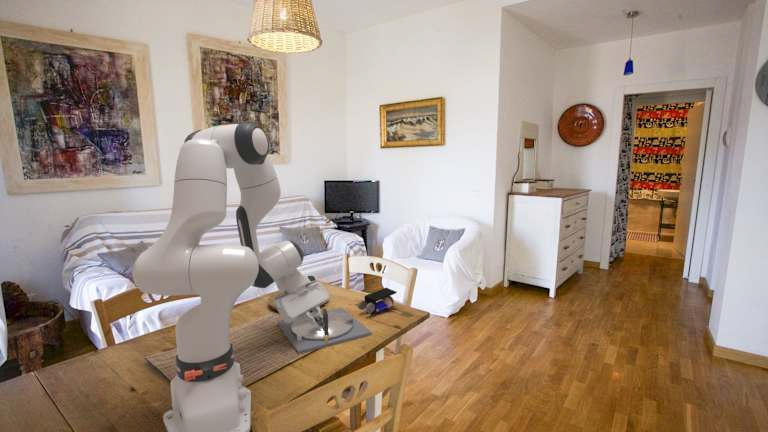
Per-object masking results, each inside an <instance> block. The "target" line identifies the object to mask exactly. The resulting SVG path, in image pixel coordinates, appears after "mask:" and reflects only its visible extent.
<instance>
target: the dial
mask: <svg viewBox="0 0 768 432" xmlns="http://www.w3.org/2000/svg"><path fill="white" fill-rule="evenodd" d="M320 312H321V315H322V317H323V319H322V320H321V321H319V322H317V323H316V324H314V325H312V324H311V323H310V321H307V320H306V319H304V318H303V316H301V317H299V318H298V319H296V320H295V321H294V322H293V323H292V332H293V334H294V335H296V336H297V334H299V333H300V334H301V335H302V338H303V339H308V340H325V335H327V336H328V339H332V338H336V337H339V336H342V335H344V334H346V333H348V332H349V331H350V330H351V329H352V328H353V319H352V318H351V317H350V316H349V315H347V314H344V313H341V312H334V311H328V310H327V308H322V311H320ZM309 313H310V312H309ZM309 315H311V316H312V317H313V318H314V317H316V314H315V312H311V313H310V314H309Z"/></svg>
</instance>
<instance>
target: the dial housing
mask: <svg viewBox="0 0 768 432" xmlns="http://www.w3.org/2000/svg"><path fill="white" fill-rule="evenodd" d="M327 311H334V312H341V313H344V314H347V315H349V316H350V317H351V318H352V319H353V328H352V329H351V330H350V331H349V332H348V333H346V334H344V335H342V336H339V337H336V338H332V339H328V336H327V335H325V340H308V339H303V338H302V335H301V334H300V333H299V334H297V336H296V335H294V334H293V332H292V323H293V322H294V321H295V320H296V319H295V320H294V321H292V322H290V323H286V322H284V321H283V319H282V320H277V321H276V323H277V326H278V327H279V328H280V330H281V331H282V333H283V334H284V336H285V337H286V338H287V340H288V341H289V343H290V344H291V346H292V347H293V348H294V350H295V352H296V351H297V352H296V353H297V355H301V354H304V353H303V352H305V353H308V351H309V352H311V351H315V350H320V349H323V348H328V347H331V346H335V345H338V344H344V343H346V342H350V341H355V340H358V339H362V338H366V337H369V336H372V335H373V334H372V333H373V332H372V330H370V329H369V328H367V327H366V326H365V325H364V324H363V323H361V321H359V320H358V319H356V317H354V316H353V315H351V314H350V313H349V312H348V311H347V310H346V309H344V308H343V307H337V308H334V309H328V310H327ZM297 319H298V318H297ZM300 353H301V354H300Z"/></svg>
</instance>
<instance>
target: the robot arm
mask: <svg viewBox="0 0 768 432" xmlns="http://www.w3.org/2000/svg"><path fill="white" fill-rule="evenodd" d="M269 150H270V143H269V138H268V136H267V133H266V132H265V130H264V129H263V128H262V127H261V126H260V125H259V124H257V123H254V122H244V121H243V122H240V123H231V124H220V125H215V126H210V127H208V128H205V129H197V130H195V131H194V132H191V133H189V134H188V135H187V136H186V138H185V139H184V142H183V144H182V145H181V147H180V150H179V153H178V157H177V160H176V166H175V171H174V184H173V196H172V197H173V198H172V207H171V214H170V217H169V221H168V223H167V226H166V227H165V229H164V231H163V232H162V234H161V235H160V236H159V238H158V239H157V240H156V241H155V242H154V243H153V244H152V245H151V246H150V247H148V248H147V249H145V250H144V251H142V252H141V253H140V254H139V256H137V258H136V260H135V261H134V264H133V266H132V280H133V282H134V284H135V286H136V287H137V289H138V290H139V291H140V292H142V293H144V294H150V295H156V296H163V297H164V296H165V297H168V296H170V297H171V296H186V295H187V296H188V295H197V296H200V304H198V305H196V306H194V307H192V308H190V309H188V310H187V311H185V312H184V313H183V314H182V315H180V316H179V318H178V319H177V322H176V323H175V328H174V329H175V342H176V353H177V354H176V356H175V368H176V375H175V376H174V378H173V379H172V380H171V381H170V392H171V406H170V409H169V410H168V411H166V412H165V413H164V414H163V416H162V421H163V424H164V427H165V428H166V431H167V432H250V431H251V422H252V421H251V419H252V417H251V416H252V414H251V413H252V393H251V390H250V389H248V388H247V387H246V386H243V385H242V381H243V382H244V374H241V364H240V363H238V362H236V361H235V358H234V357H235V356H234V355H235V353H234V352H235V351H234V348H233V343H231V313H232V311H233V307H234V305H235V304H236V302H237V300H238V299H239V298H240V296H241V295H242V294H243V293H244V292H245V291H246V290H248V289H249V288H250V287H251V286H252V287H254V288H259V289H267V287H269V286H271V285H272V284H273V283H275V284H276V288H277V290H278V292H279V291H280V292H281V294H280V295H277V296H276V297H275V299H274V304H275V305H276V307H277V309H278V311H277V312H278V313H279V316H280V317H281V319H282V320H283V321H284V322H286V323H290V322H292V321H294V320H295V319H297V318H299V317H301V316H303V318H304V319H306V320H307V321H310V323H311V324H312V325H314V324H316V323H317V322H319V321H321V320H322V319H323V317H322V315H321V312H322V311H321V306H322V305H324V304H326V303H327V301H329V300H330V293H329V292H328V291H327V289H326V288H325V287H324V285H323V283H321V282H320V281H318V280H319V279H318V277H317V276H316V275H314V274H309V275H308V274H302V273H301V272H300V271H299V270H298V268H299V267H301V265H302V264H303V261H304V257H305V253H304V251H303V250H302V248H301V247H300V245H299V244H298V243H297V242H295V241H293V240H288V239H287V240H284V241H281V242H280V243H273V244H269V245H267V246H266V247H264V248H263V249H262V251H261V252H260V247H259V244H258V243H259V241H258V235H257V230H258V229H257V228H258V227H259V224H260V223H261V222H262V220H263V219H264V218H265V217H266V216H267V215H268V214H269V213H270V212H271V211H273V209H275V207H276V205H277V204H278V202H279V200H280V198H281V194H282V192H281V185H280V182H279V179H278V176H277V173H276V170H275V167H274V166H273V163H272V160H271V158H270V157H269V155H268V154H269ZM227 169H233V172H234V176H235V179H236V182H237V185H238V188H239V192H240V203H239V206H238V207H237V208H236V212H235V219H236V226H237V232H238V237H239V243H240V244H232V243H231V244H230V243H217V244H216V243H214V244H200V242H201V239H202V238H203V236H204V235H205V234H206V233H207V232H209V231H210V230H212V229H215V228H216V227H218V226H220V224H221V223H223V222H224V220H225V218H226V216H227V206H228V205H227V203H228V202H227V199H228V198H227V195H228V194H227V193H228V192H227V191H228V177H227V176H228V174H227ZM221 225H222V224H221ZM320 305H321V306H320ZM311 311H312V313H314V312H315V314H316V317H314V318H313V317H312V316H311V315H309V314H310V312H311Z"/></svg>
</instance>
